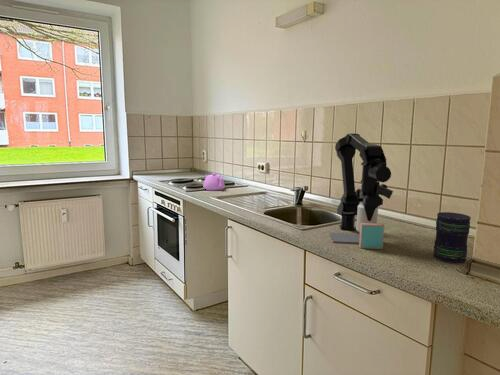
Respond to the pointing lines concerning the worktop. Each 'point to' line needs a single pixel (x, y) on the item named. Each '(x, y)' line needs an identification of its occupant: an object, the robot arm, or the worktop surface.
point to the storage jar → (451, 237)
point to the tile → (371, 235)
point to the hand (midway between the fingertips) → (367, 218)
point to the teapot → (213, 182)
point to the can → (364, 216)
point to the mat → (345, 238)
